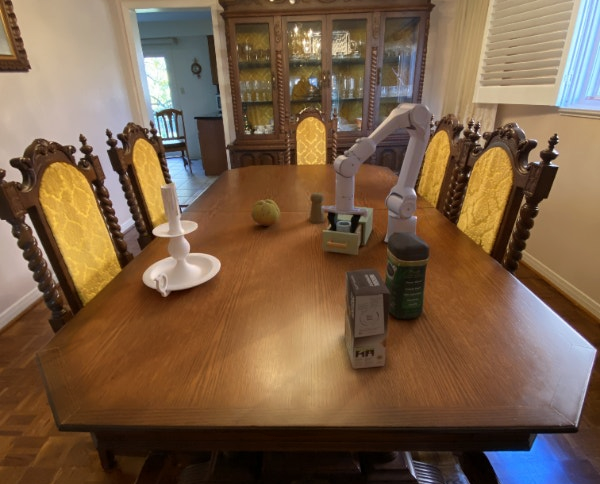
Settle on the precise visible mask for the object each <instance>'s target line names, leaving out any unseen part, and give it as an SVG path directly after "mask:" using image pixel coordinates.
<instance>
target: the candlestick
mask: <svg viewBox="0 0 600 484" xmlns="http://www.w3.org/2000/svg"><path fill="white" fill-rule="evenodd" d="M160 194H161V199H162V205H163V209H164V216H165V217H167V222H164V223H161V224H159V225H157V226H156V227H154V228H153V229H152V230H151V231H152V232H151V233H152V234H153V235H154V236H155V237H160V238H169V242H168V245H167V253H168V254H169V257H165V258H162V259H161V260H159V261H156V262H154V263H152V264H151V265H149V267H147V269H146V270H145V271H144V272H143V274H142V279H141V280H142V282H143V284H144V285H145V286H146V287H149V288H151V289H154V290H156V291H157V292H159V293H160V295H161V297H164V298H165V297H168V296H169V295H170V294H171V292H172V291H183V290H188V289H191V288H195V287H196V286H199V285H201V284H205V282H208V281H209V280H211V279H213V278H214V277H215V276H216V275H217V274H218V273H219V272H220V270H221V261H220V259H218V258H217V257H216V256H214V255H211V254H208V253H207V254H206V253H203V252H202V253H201V252H191V251H190V250H191V246H190V243H189V241H188V240H187V239H186V238H185V235H188V234H190V233H192V232H194V231H196V230H197V229H198V228H199V227H198V226H199V224H198V223H197V222H196V221H192V220H184V219H183V220H181V217H182V214H181V209H180V203H179V197H178V191H177V183H176V182H170V183H168V184H167V183H164V184H162V185H161V186H160Z"/></svg>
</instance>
